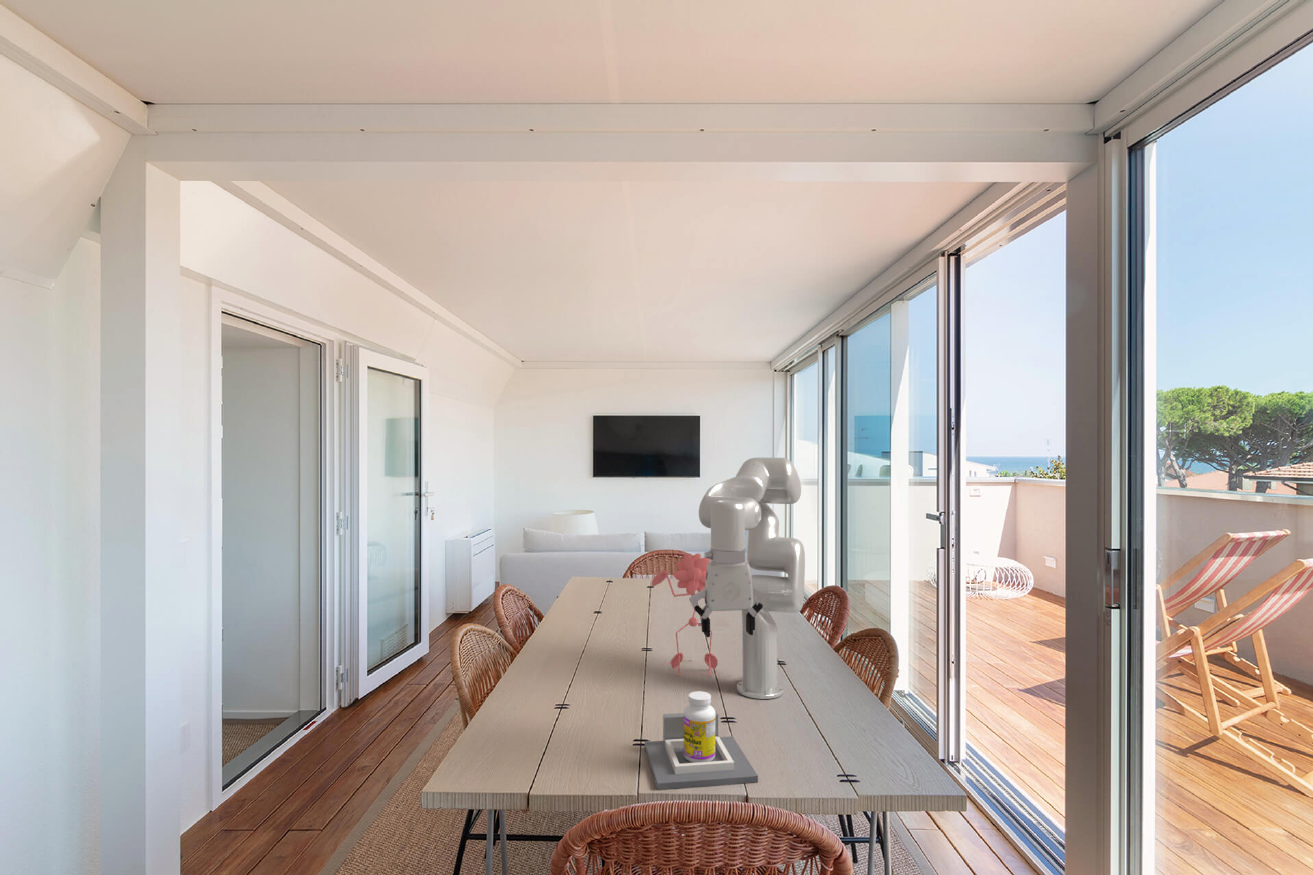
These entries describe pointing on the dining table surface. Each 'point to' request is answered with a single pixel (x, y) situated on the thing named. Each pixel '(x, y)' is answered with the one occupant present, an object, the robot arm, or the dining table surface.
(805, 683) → the dining table surface
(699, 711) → the supplement bottle
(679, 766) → the dock
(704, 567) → the pink stick figure
